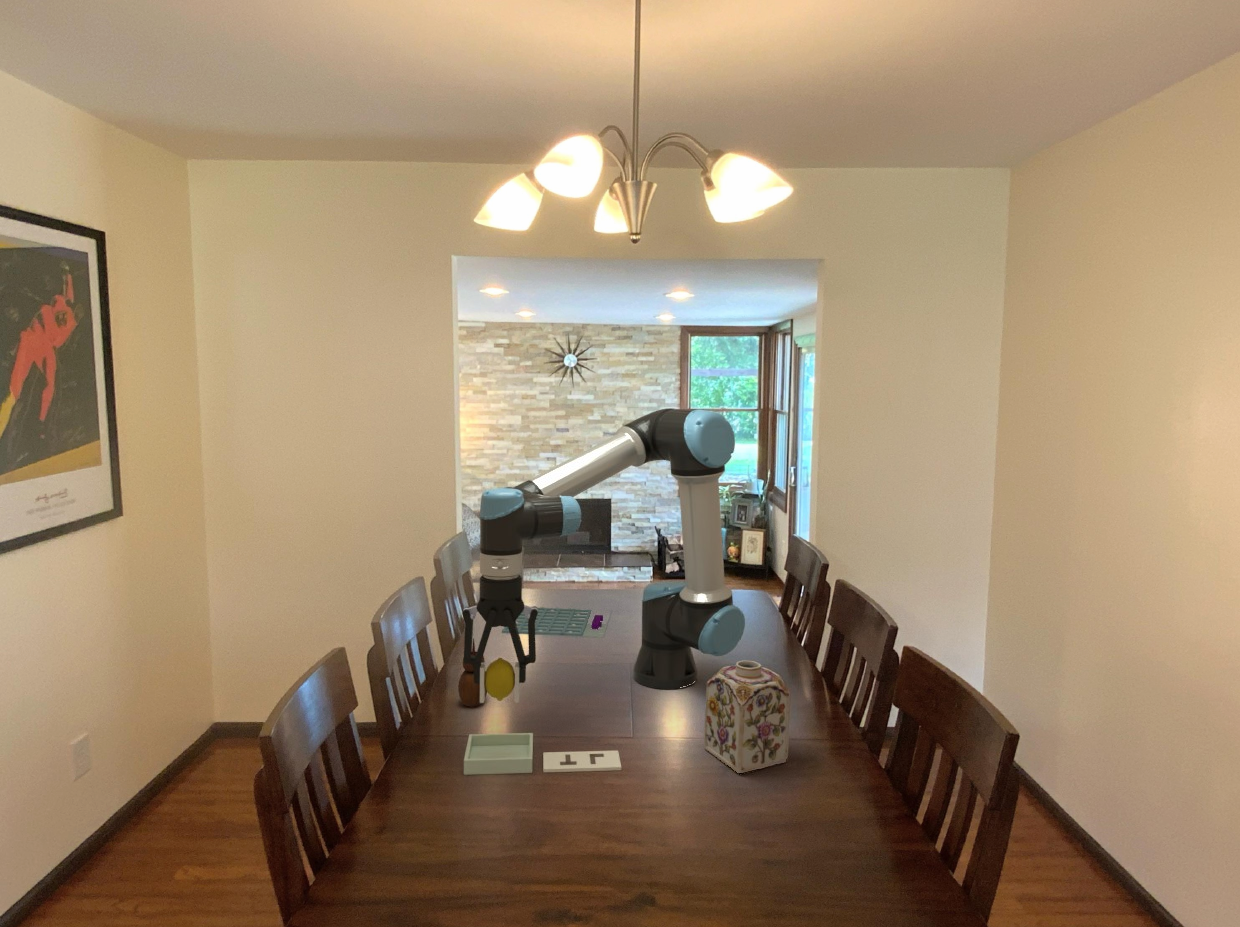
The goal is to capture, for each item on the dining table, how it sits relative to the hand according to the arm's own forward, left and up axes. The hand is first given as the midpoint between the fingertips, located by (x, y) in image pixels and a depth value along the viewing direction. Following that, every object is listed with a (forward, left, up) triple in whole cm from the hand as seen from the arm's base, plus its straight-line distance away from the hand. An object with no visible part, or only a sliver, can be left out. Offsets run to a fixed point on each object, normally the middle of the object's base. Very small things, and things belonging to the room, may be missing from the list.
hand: (499, 699), depth 141 cm
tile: (-15, +2, -12) cm, 19 cm away
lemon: (0, 0, -1) cm, 1 cm away
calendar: (-13, -85, -12) cm, 87 cm away
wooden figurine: (+7, -26, -12) cm, 29 cm away
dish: (0, 0, -12) cm, 12 cm away
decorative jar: (-46, +1, -12) cm, 48 cm away
